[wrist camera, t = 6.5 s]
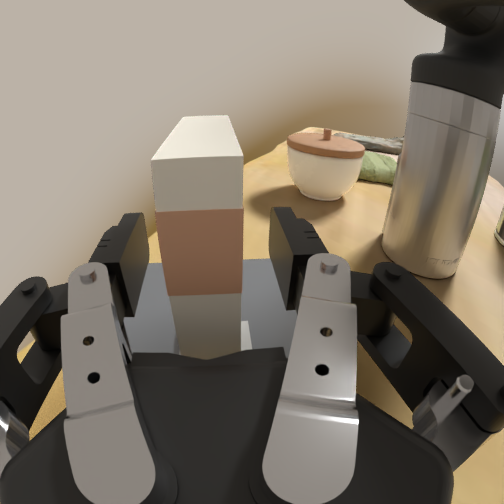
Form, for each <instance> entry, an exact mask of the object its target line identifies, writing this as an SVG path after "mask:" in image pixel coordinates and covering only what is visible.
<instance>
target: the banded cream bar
mask: <svg viewBox="0 0 504 504" xmlns="http://www.w3.org/2000/svg"><path fill="white" fill-rule="evenodd" d="M151 168H152V179H153V189H154V198H155V207H156V211H155V217H156V225H157V233H158V240H159V246H160V253H161V259H162V266H163V272H164V278H165V283H166V289H167V294H168V296H169V299H170V305H171V310H172V315H173V320H174V325H175V330H176V334H177V339H178V344H179V348H180V353H181V355H183V356H188V357H194V358H199V359H213V358H217V357H221V356H224V355H228V354H232V353H236V352H239V351H241V293H242V277H243V216H244V208H243V154H242V151H241V148H240V146H239V143H238V141H237V138H236V135H235V132H234V130H233V127H232V125H231V122H230V119H229V117H228V115H217V116H216V115H215V116H190V117H183V118H182V119H181V120H180V122H179V123H178V124H177V125H176V127H175V128H174V130H173V131H172V132H171V133H170V135H169V136H168V137H167V139H166V140H165V141H164V143H163V144H162V145H161V147H160V148H159V149H158V151H157V152H156V153H155V155H154V156H153V158H152V159H151Z"/></svg>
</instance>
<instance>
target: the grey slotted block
mask: <svg viewBox="0 0 504 504" xmlns="http://www.w3.org/2000/svg"><path fill="white" fill-rule="evenodd" d="M296 320H297V313H296V310H288V311H286V309H285V305H284V302H283V299H282V295H281V292H280V289H279V285H278V282H277V278H276V275H275V272H274V268H273V265H272V262H271V259H249V260H243V277H242V293H241V351H243V350H248V349H261V348H273V347H284V351H285V355H286V358H289V353H290V349H291V344H292V339H293V335H294V330H295V325H296ZM124 324H125V327H126V330H127V333H128V337H129V341H130V345H131V349H132V352H147V353H173V354H178V355H181V353H180V348H179V344H178V339H177V334H176V330H175V325H174V320H173V315H172V310H171V305H170V299H169V296H168V294H167V289H166V283H165V278H164V272H163V266H162V263H148V266H147V270H146V273H145V277H144V281H143V285H142V289H141V293H140V297H139V301H138V305H137V309H136V313H135V317H124Z"/></svg>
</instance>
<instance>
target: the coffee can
mask: <svg viewBox="0 0 504 504" xmlns="http://www.w3.org/2000/svg"><path fill="white" fill-rule="evenodd" d="M494 234H495V237H496V238H497V239H498V241H499V242H500V243H501V244H502V245H503V246H504V206H503V209H502V212H501V215H500V218H499V221H498V224H497V226H496V229H495V231H494Z"/></svg>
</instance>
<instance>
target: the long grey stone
mask: <svg viewBox="0 0 504 504" xmlns="http://www.w3.org/2000/svg"><path fill="white" fill-rule="evenodd" d="M334 136H338V137H342V138H346V139H350V140H353V141H356V142H358V143H360V144H362V145H363V146H364V147H365V149H367V150H372V151H380V152H385V153H391V154H400V153H402V148H403V141H404V136H403V138H398V137H396V138H393V139H392V138H390V139H383V138H377V137H371V136H370V137H367V136H360V135H354V134H352V135H351V134H344V133H336V134H334Z"/></svg>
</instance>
